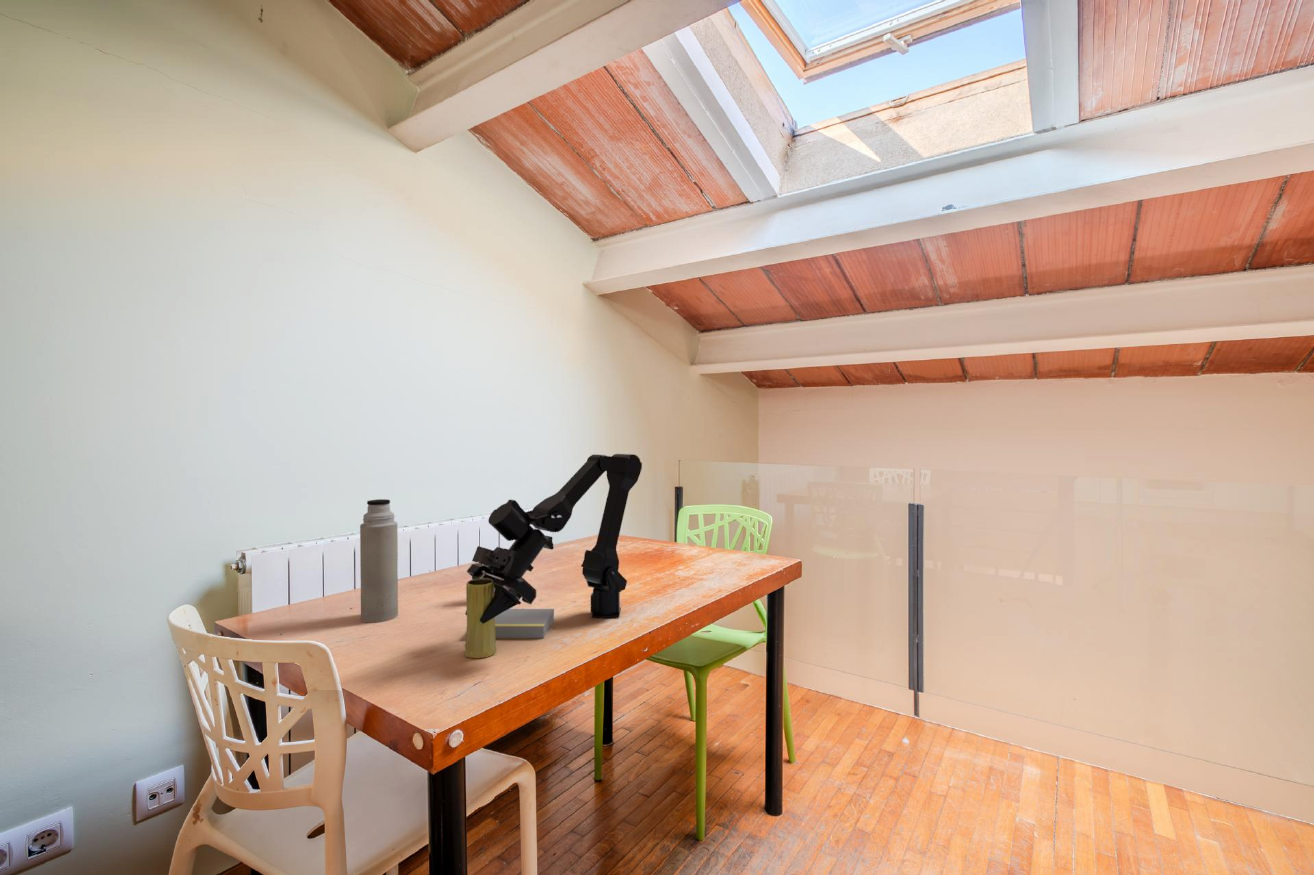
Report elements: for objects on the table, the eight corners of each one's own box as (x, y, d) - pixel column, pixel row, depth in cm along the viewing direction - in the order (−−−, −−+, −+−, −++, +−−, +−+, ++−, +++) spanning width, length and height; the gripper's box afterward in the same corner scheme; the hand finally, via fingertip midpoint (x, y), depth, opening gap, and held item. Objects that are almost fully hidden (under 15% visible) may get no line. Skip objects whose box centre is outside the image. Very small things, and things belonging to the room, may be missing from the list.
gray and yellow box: (554, 619, 132) (554, 608, 132) (543, 638, 120) (543, 625, 120) (486, 619, 132) (485, 608, 132) (468, 638, 120) (468, 625, 120)
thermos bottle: (382, 609, 139) (381, 497, 139) (405, 614, 136) (404, 498, 136) (353, 619, 132) (352, 500, 132) (376, 624, 129) (375, 502, 128)
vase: (468, 647, 115) (468, 577, 115) (499, 646, 115) (499, 577, 115) (461, 659, 109) (460, 586, 108) (493, 658, 109) (492, 585, 109)
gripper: (474, 525, 121) (424, 587, 113) (522, 536, 108) (469, 607, 100) (507, 555, 127) (462, 616, 119) (556, 569, 114) (509, 639, 106)
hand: (474, 618), depth 111 cm, fingers closed on vase, 5 cm apart
